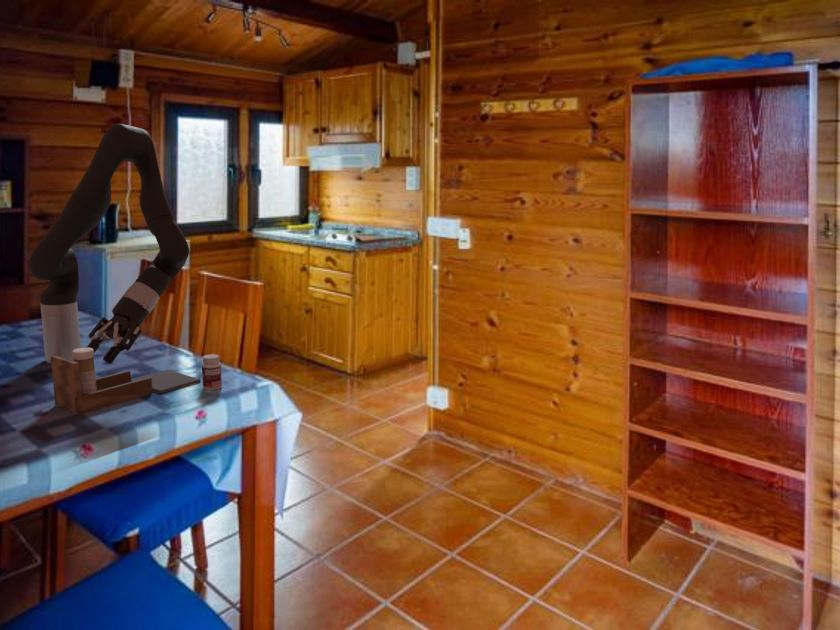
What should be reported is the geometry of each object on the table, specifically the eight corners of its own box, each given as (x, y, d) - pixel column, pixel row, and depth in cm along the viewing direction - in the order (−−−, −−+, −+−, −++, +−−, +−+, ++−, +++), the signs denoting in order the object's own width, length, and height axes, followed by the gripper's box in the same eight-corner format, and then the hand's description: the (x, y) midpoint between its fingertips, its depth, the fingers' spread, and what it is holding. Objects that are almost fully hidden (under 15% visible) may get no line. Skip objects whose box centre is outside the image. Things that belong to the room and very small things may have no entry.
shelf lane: (55, 405, 158) (50, 356, 155) (129, 385, 173) (125, 340, 171) (78, 414, 152) (74, 363, 150) (152, 393, 168) (149, 346, 165)
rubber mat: (128, 383, 175) (127, 380, 175) (167, 372, 185) (167, 369, 185) (160, 393, 167) (160, 390, 167) (200, 382, 177) (200, 379, 177)
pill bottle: (205, 384, 175) (203, 353, 173) (223, 384, 176) (222, 353, 174) (200, 390, 171) (199, 358, 169) (219, 390, 171) (218, 358, 169)
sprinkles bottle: (80, 401, 161) (75, 347, 158) (100, 400, 162) (96, 346, 159) (74, 407, 156) (69, 352, 154) (95, 406, 157) (90, 351, 155)
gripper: (109, 292, 167) (68, 345, 160) (143, 298, 160) (101, 355, 153) (129, 309, 173) (91, 362, 166) (164, 316, 165) (124, 372, 158)
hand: (96, 358), depth 159 cm, fingers open, 8 cm apart
